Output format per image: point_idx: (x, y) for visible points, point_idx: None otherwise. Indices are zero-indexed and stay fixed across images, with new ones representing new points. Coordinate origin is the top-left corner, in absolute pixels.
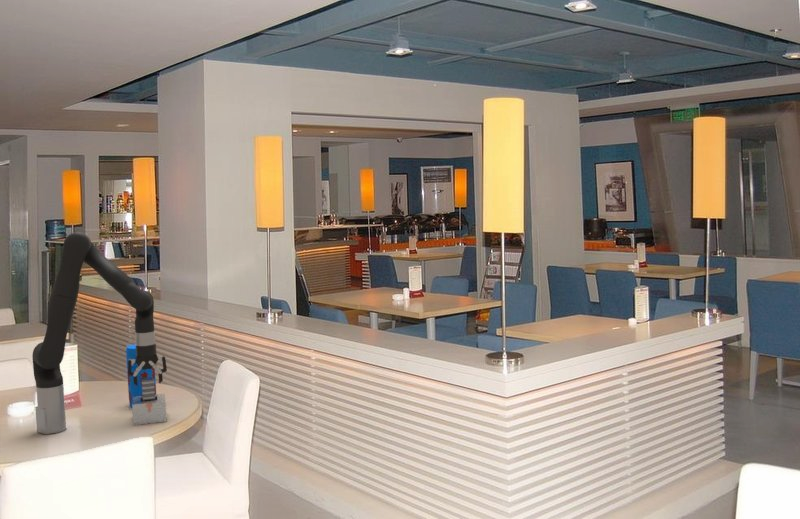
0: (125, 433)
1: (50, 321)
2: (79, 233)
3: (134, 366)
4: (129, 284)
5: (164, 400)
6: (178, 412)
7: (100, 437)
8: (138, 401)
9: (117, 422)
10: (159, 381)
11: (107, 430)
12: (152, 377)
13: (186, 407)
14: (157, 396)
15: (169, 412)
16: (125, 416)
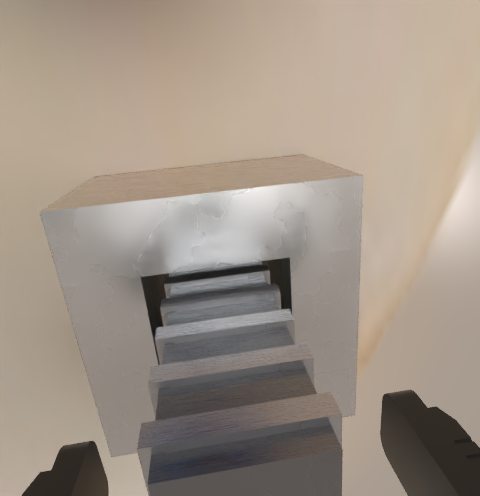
0: (124, 458)
1: None
2: None
3: None
4: None
5: (349, 396)
6: (379, 158)
7: (14, 492)
8: (143, 386)
9: (15, 280)
10: (401, 469)
11: (9, 407)
12: (329, 474)
13: (442, 39)
14: (294, 268)
15: (325, 140)
16: (26, 151)
